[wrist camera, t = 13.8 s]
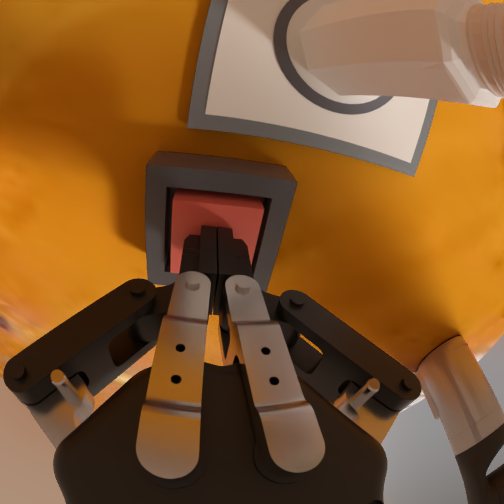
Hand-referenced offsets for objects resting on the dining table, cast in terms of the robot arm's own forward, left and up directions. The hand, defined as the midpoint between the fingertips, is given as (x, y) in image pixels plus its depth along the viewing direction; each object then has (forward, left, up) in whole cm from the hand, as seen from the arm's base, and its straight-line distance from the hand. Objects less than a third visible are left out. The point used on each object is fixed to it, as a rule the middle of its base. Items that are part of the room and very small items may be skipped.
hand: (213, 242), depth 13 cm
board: (+11, -5, -3) cm, 12 cm away
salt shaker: (+11, -5, -2) cm, 12 cm away
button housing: (0, 0, -3) cm, 3 cm away
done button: (0, 0, -2) cm, 2 cm away
